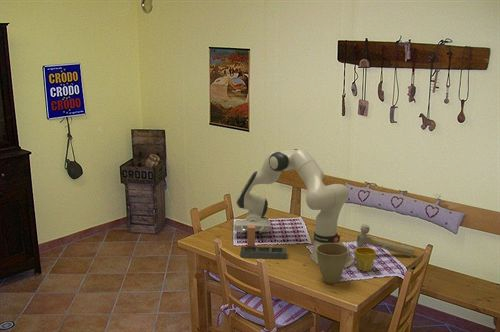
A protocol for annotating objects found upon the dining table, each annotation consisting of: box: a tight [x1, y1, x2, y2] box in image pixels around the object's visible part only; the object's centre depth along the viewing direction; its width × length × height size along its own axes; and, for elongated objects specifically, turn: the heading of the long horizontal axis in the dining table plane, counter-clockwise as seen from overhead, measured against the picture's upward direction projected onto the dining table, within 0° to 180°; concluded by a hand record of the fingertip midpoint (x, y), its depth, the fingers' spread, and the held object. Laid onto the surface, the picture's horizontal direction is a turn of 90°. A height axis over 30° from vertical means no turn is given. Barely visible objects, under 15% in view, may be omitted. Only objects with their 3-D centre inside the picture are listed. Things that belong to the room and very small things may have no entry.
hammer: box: [355, 223, 416, 258], centre depth 287 cm, size 16×5×30 cm
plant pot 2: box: [354, 246, 377, 272], centre depth 271 cm, size 10×10×10 cm
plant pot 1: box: [316, 243, 349, 284], centre depth 258 cm, size 15×15×16 cm
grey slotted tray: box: [240, 245, 288, 260], centre depth 286 cm, size 24×8×3 cm, turn 88°
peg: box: [246, 225, 256, 247], centre depth 295 cm, size 4×4×12 cm
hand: (252, 231), depth 301 cm, fingers open, 8 cm apart
